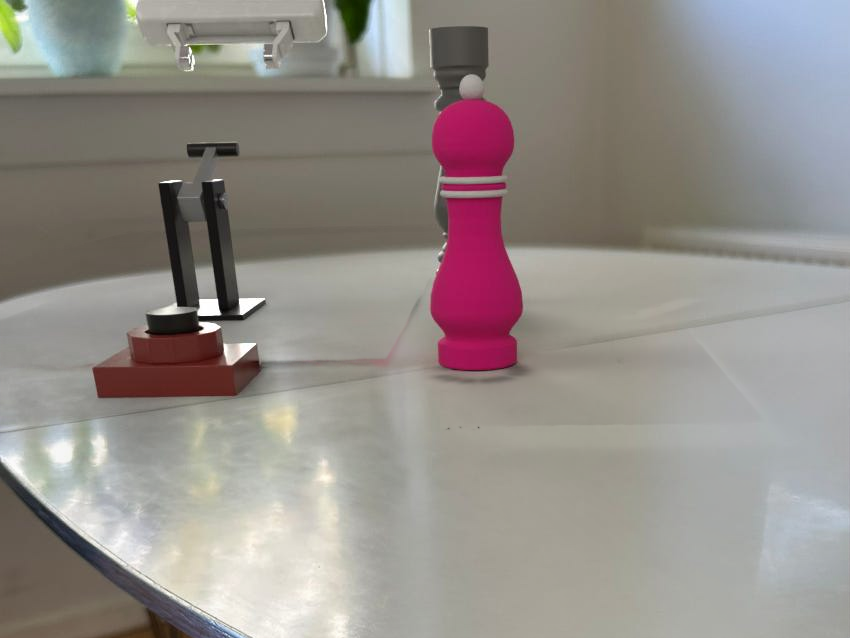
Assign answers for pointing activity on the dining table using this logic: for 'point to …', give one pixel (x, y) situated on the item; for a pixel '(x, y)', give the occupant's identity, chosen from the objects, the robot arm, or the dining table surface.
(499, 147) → the pepper mill
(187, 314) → the black push button
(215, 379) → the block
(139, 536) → the dining table surface
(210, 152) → the tap lever
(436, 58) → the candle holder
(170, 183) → the bracket
